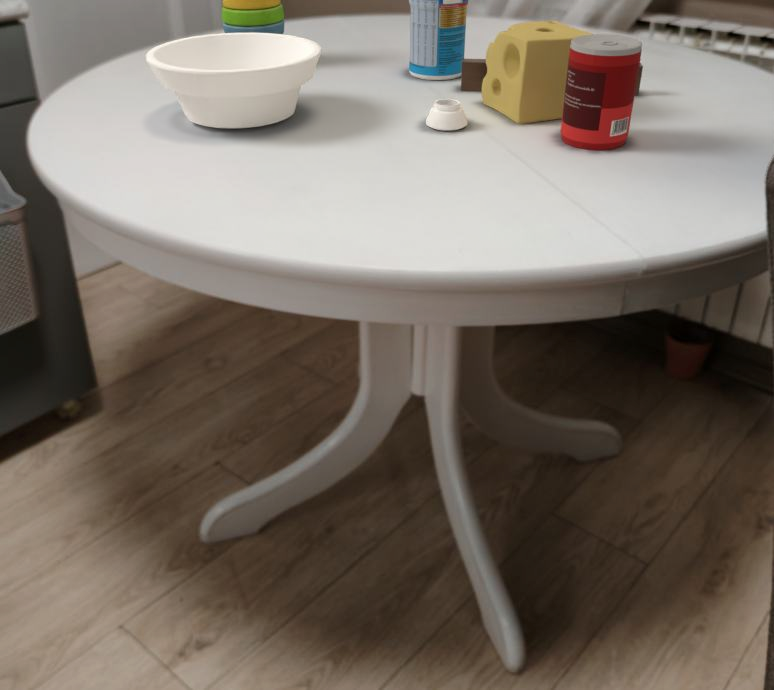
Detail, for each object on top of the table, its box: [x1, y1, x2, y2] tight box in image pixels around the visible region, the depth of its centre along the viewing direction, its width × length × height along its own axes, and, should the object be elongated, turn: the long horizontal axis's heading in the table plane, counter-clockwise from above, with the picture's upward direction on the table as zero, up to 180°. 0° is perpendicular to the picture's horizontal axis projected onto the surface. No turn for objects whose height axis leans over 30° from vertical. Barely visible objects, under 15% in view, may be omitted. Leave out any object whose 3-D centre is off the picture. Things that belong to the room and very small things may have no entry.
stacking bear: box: [221, 0, 285, 34], centre depth 121 cm, size 11×10×18 cm
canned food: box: [560, 33, 643, 151], centre depth 91 cm, size 8×8×11 cm
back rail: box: [460, 58, 644, 97], centre depth 110 cm, size 24×2×4 cm, turn 83°
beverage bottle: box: [408, 0, 470, 81], centre depth 114 cm, size 8×8×20 cm
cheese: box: [481, 20, 594, 125], centre depth 101 cm, size 10×11×10 cm
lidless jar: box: [425, 98, 468, 132], centre depth 97 cm, size 5×3×5 cm
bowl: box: [145, 32, 323, 129], centre depth 100 cm, size 21×21×8 cm
